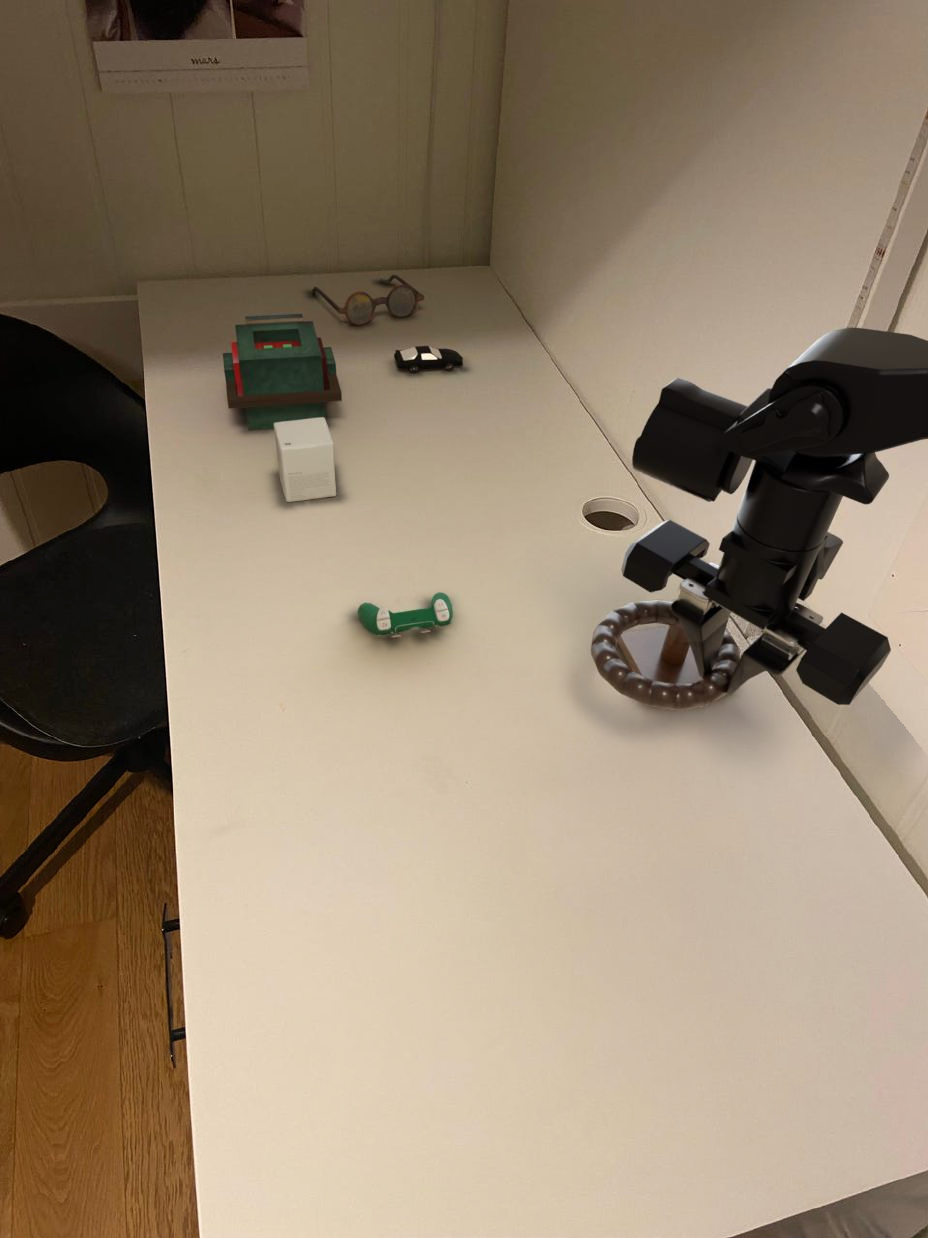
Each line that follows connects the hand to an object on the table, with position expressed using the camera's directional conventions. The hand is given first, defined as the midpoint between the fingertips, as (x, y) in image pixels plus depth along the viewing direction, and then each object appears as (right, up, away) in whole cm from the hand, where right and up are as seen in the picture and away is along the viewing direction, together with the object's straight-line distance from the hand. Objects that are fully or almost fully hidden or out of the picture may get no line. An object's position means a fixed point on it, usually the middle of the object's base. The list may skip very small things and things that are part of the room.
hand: (718, 683), depth 66 cm
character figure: (-45, +36, +49) cm, 76 cm away
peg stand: (0, +1, +15) cm, 15 cm away
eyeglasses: (-37, +57, +73) cm, 100 cm away
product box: (-39, +21, +34) cm, 56 cm away
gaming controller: (-26, +4, +17) cm, 31 cm away
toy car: (-25, +42, +58) cm, 76 cm away
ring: (-4, +2, +3) cm, 5 cm away
